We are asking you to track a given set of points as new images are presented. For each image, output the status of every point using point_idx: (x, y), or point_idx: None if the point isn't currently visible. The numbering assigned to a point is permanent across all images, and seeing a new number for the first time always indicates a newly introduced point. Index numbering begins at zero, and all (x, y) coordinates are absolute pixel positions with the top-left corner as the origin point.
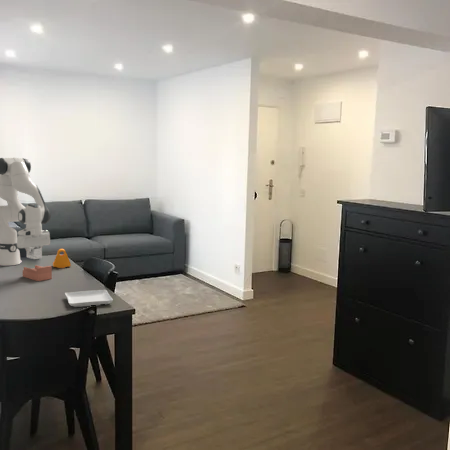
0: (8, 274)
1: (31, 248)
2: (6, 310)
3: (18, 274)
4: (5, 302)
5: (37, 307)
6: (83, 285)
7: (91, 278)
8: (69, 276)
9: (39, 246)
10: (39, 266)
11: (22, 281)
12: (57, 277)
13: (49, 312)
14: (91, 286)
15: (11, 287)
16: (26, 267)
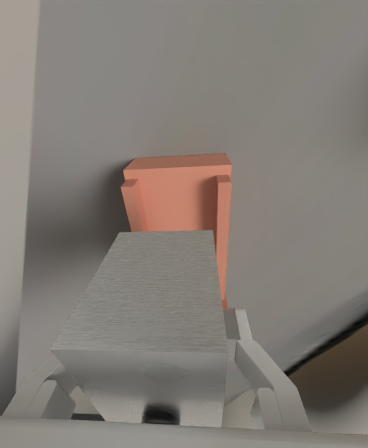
0: (70, 12)
1: (101, 414)
2: (19, 382)
3: (136, 73)
4: (19, 360)
5: (72, 393)
6: (232, 362)
7: (318, 334)
8: (299, 281)
9: (259, 423)
10: (221, 227)
11: (102, 242)
12: (253, 268)
13: (82, 407)
14: (239, 373)
15: (46, 286)
16: (135, 204)
